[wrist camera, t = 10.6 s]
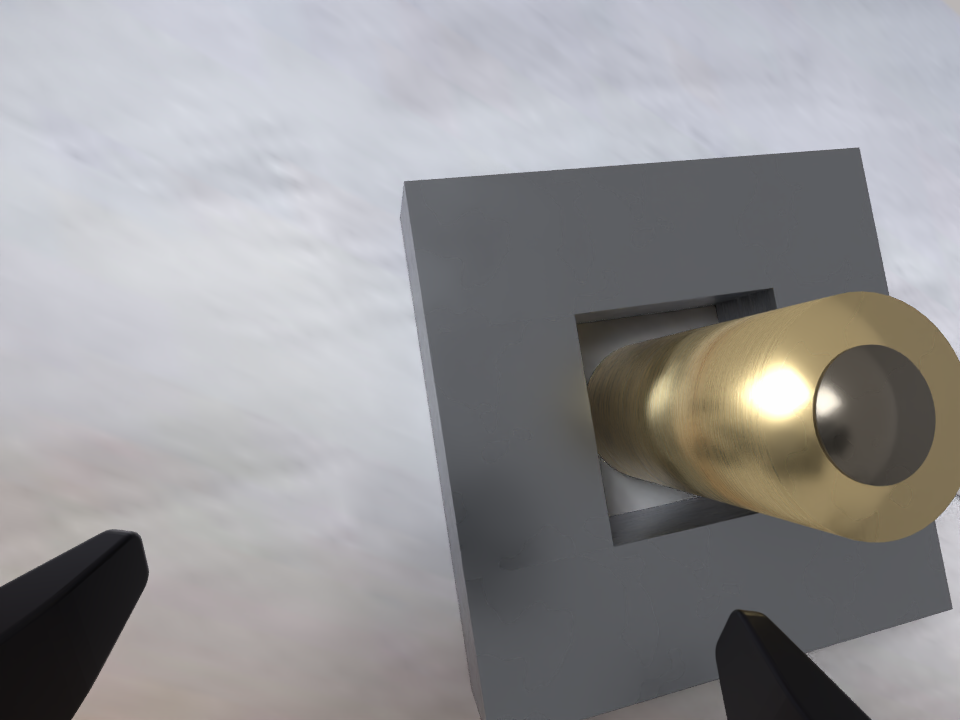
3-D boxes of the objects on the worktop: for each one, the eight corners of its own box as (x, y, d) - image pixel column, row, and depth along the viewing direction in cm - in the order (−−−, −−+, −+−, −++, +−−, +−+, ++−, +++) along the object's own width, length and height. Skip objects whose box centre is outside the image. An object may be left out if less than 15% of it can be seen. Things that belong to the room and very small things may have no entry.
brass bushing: (719, 465, 20) (1001, 516, 11) (596, 490, 19) (793, 569, 10) (696, 334, 20) (952, 277, 11) (573, 352, 19) (744, 306, 10)
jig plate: (870, 579, 20) (952, 608, 17) (471, 688, 17) (490, 747, 14) (793, 182, 21) (859, 147, 18) (400, 217, 18) (403, 181, 15)
